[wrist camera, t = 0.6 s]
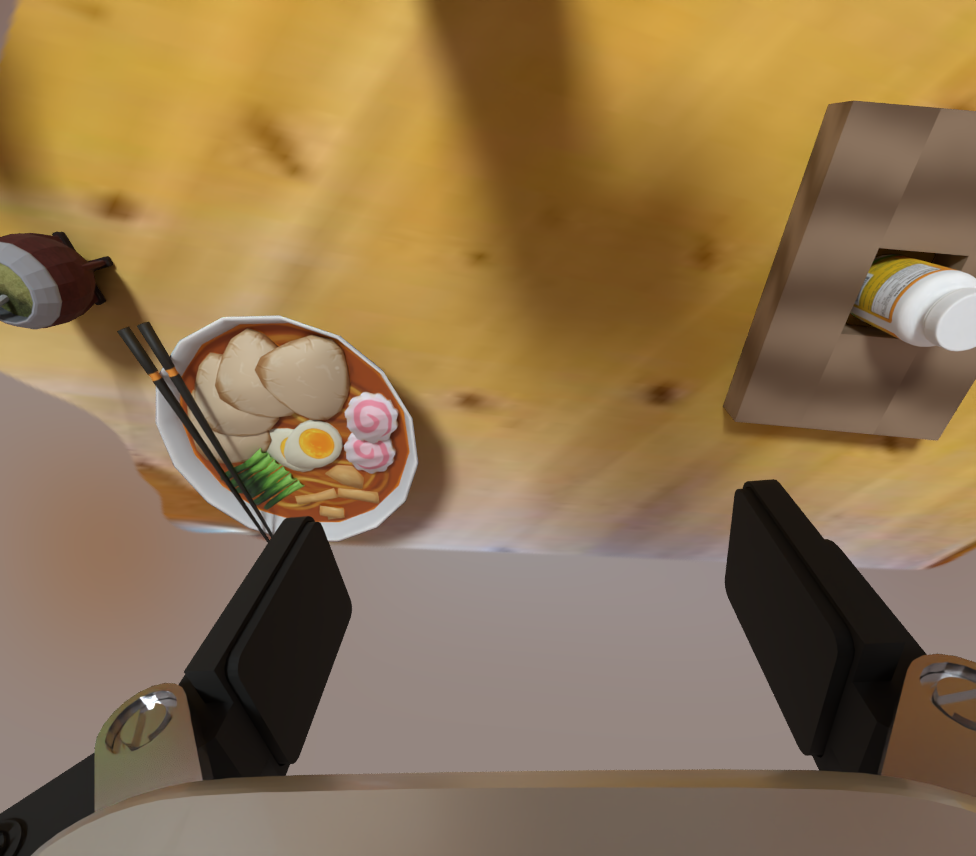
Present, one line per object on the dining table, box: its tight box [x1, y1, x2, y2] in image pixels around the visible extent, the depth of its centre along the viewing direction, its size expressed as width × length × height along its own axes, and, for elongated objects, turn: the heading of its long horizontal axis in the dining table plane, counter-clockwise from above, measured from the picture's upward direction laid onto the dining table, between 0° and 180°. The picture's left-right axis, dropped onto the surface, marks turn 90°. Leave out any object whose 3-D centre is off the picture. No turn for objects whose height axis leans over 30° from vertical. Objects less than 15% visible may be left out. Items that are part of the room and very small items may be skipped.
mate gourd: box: [0, 232, 113, 329], centre depth 37 cm, size 8×8×15 cm
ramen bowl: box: [117, 316, 418, 542], centre depth 46 cm, size 25×23×8 cm
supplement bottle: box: [850, 254, 976, 351], centre depth 37 cm, size 5×5×10 cm
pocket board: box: [723, 101, 976, 440], centre depth 39 cm, size 24×18×3 cm
